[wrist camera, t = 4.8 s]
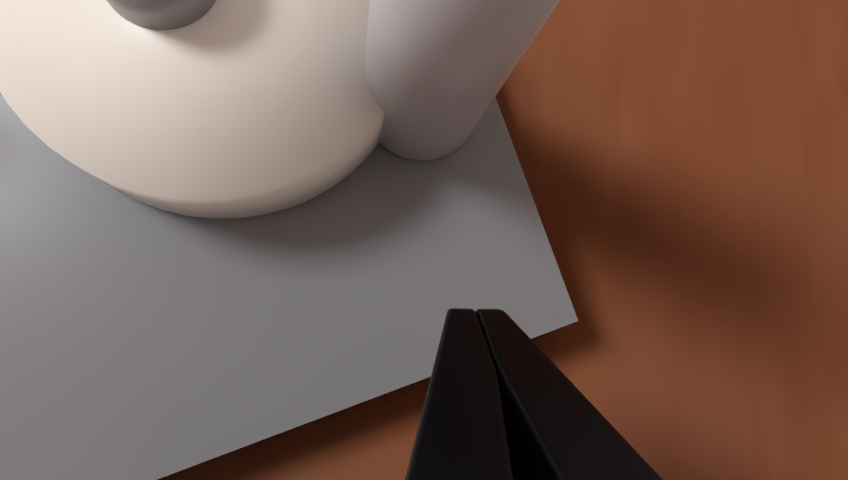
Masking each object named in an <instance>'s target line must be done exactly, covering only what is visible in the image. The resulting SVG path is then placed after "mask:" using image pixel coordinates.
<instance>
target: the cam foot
mask: <svg viewBox="0 0 848 480" xmlns="http://www.w3.org/2000/svg"><path fill="white" fill-rule="evenodd" d="M559 1H560V0H0V92H1V94H2V95H3V97H4V99H5V100H6V102H7V104H8V105H9V106H10V107H11V108H12V110H13V111H14V112H15V113H16V114H17V116H18V117H19V118H20V119H21V121H22V122H23V123H24V124H25V125H26V127H28V128H29V129H30V130H31V131H32V132H33V133H34V134H35V135H36V136H37V137H38V138H39V139H41V140H42V141H43V142H44V143H45V144H46V145H47V146H48V147H49V148H51V149H52V150H54V151H55V152H57V153H58V154H60V155H61V156H62V157H64V158H65V159H67V160H68V161H70V162H71V163H72V164H74V165H76V166H77V167H79V168H81V169H82V170H84V171H85V172H87V173H89V174H90V175H92V176H94V177H95V178H97V179H99V180H100V181H102V182H104V183H105V184H107V185H109V186H110V187H112V188H114V189H115V190H117V191H119V192H121V193H123V194H125V195H127V196H129V197H131V198H133V199H135V200H137V201H139V202H141V203H144V204H147V205H150V206H152V207H155V208H158V209H161V210H164V211H168V212H172V213H177V214H181V215H186V216H192V217H202V218H212V219H228V218H245V217H252V216H259V215H266V214H269V213H273V212H277V211H280V210H284V209H288V208H291V207H293V206H296V205H298V204H300V203H303V202H305V201H308V200H310V199H312V198H314V197H316V196H318V195H319V194H321V193H323V192H325V191H326V190H328V189H330V188H332V187H333V186H335V185H336V184H337V183H339V182H340V181H341V180H343V179H344V178H345V177H346V176H348V175H349V174H350V173H352V172H353V171H354V170H355V169H356V168H357V167H358V166H359V165H360V164H361V163H362V162H363V161H364V160H365V159H366V158H367V157H368V156H369V155H370V153H371V152H372V151H373V149H374V148H375V147H376V145H377V144H378V143H380V144H381V145H382V146H383V147H385V148H386V149H388V150H389V151H391V152H392V153H394V154H396V155H399V156H401V157H404V158H408V159H412V160H432V159H437V158H441V157H443V156H446V155H448V154H450V153H451V152H453V151H455V150H456V149H457V148H458V147H460V146H461V145H462V144H463V143H464V142H465V140H466V139H467V138H468V136H469V135H470V133H471V132H472V130H473V129H474V127H475V126H476V124H477V123H478V121H479V120H480V118H481V117H482V116H483V114H484V113H485V111H486V110H487V108H488V107H489V105H490V104H491V102H492V101H493V99H494V98H495V96H496V95H497V93H498V92H499V90H500V89H501V87H502V86H503V84H504V83H505V81H506V80H507V78H508V77H509V75H510V74H511V73H512V71H513V70H514V68H515V67H516V65H517V64H518V62H519V61H520V59H521V58H522V56H523V55H524V53H525V52H526V50H527V49H528V47H529V46H530V44H531V43H532V41H533V40H534V38H535V37H536V35H537V34H538V32H539V31H540V30H541V28H542V27H543V25H544V24H545V22H546V21H547V19H548V18H549V16H550V15H551V13H552V12H553V10H554V9H555V7H556V6H557V4H558V3H559Z"/></svg>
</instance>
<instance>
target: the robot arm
mask: <svg viewBox="0 0 848 480" xmlns="http://www.w3.org/2000/svg"><path fill="white" fill-rule="evenodd" d="M405 480H663V479H662V478H661V477H660V476H659V475H658V474H657V473H656V472H655V471H654V470H653V469H652V468H651V467H650V466H649V464H648V463H647V462H646V461H645V460H644V459H643V458H642V457H641V456H640V455H639V454H638V453H637V452H636V451H635V450H634V449H633V447H632V446H631V445H630V444H629V443H628V442H627V441H626V440H625V439H624V438H623V437H622V436H621V435H620V434H619V433H618V431H617V430H616V429H615V428H614V427H613V426H612V425H611V424H610V423H609V422H608V421H607V420H606V419H605V418H604V417H603V415H602V414H601V413H600V412H599V411H598V410H597V409H596V408H595V407H594V406H593V405H592V404H591V403H590V402H589V401H588V399H587V398H586V397H585V396H584V395H583V394H582V393H581V392H580V391H579V390H578V389H577V388H576V387H575V386H574V385H573V384H572V382H571V381H570V380H569V379H568V378H567V377H566V376H565V375H564V374H563V373H562V372H561V371H560V370H559V369H558V368H557V366H556V365H555V364H554V363H553V362H552V361H551V360H550V359H549V358H548V357H547V356H546V355H545V354H544V353H543V352H542V350H541V349H540V348H539V347H538V346H537V345H536V344H535V343H534V342H533V341H532V340H531V339H530V338H529V337H528V336H527V334H526V333H525V332H524V331H523V330H522V329H521V328H520V327H519V326H518V325H517V324H516V323H515V322H514V321H513V320H512V319H511V317H510V316H509V315H508V314H507V313H506V312H505V311H503V310H501V309H478V310H476V311H474V310H473V309H471V308H450V309H449V310H448V311H447V314H446V318H445V322H444V326H443V330H442V334H441V338H440V342H439V346H438V350H437V354H436V358H435V362H434V366H433V370H432V374H431V378H430V382H429V386H428V390H427V394H426V398H425V402H424V406H423V410H422V414H421V418H420V422H419V426H418V430H417V434H416V438H415V442H414V446H413V450H412V454H411V458H410V462H409V466H408V470H407V474H406V478H405Z"/></svg>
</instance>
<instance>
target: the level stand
mask: <svg viewBox="0 0 848 480" xmlns="http://www.w3.org/2000/svg"><path fill="white" fill-rule="evenodd" d="M450 308H471V309H473V310H474V311H476V310H478V309H501V310H503V311H505V312H506V313H507V314H508V315H509V316H510V317H511V319H512V320H513V321H514V322H515V323H516V324H517V325H518V326H519V327H520V328H521V329H522V330H523V331H524V332H525V333H526V334H527V336H528V337H529V338H530V339H532V338H534V337H537V336H540V335H542V334H545V333H548V332H550V331H553V330H556V329H558V328H561V327H564V326H566V325H569V324H572V323H574V322H577V321H578V319H577V316H576V313H575V311H574V308H573V305H572V302H571V300H570V297H569V294H568V292H567V289H566V286H565V284H564V281H563V278H562V275H561V273H560V270H559V267H558V265H557V262H556V259H555V256H554V254H553V251H552V248H551V246H550V243H549V240H548V238H547V235H546V232H545V229H544V227H543V224H542V221H541V219H540V216H539V213H538V210H537V208H536V205H535V202H534V200H533V197H532V194H531V192H530V189H529V186H528V183H527V181H526V178H525V175H524V173H523V170H522V167H521V164H520V162H519V159H518V156H517V154H516V151H515V148H514V146H513V143H512V140H511V137H510V135H509V132H508V129H507V127H506V124H505V121H504V119H503V116H502V113H501V110H500V108H499V105H498V102H497V100H496V97H495V98H494V99H493V101H492V102H491V104H490V105H489V107H488V108H487V110H486V111H485V113H484V114H483V116H482V117H481V118H480V120H479V121H478V123H477V124H476V126H475V127H474V129H473V130H472V132H471V133H470V135H469V136H468V138H467V139H466V140H465V142H464V143H463V144H462V145H461V146H460V147H458V148H457V149H456V150H455V151H453V152H451V153H450V154H448V155H446V156H443V157H441V158H437V159H432V160H412V159H408V158H404V157H401V156H399V155H396V154H394V153H392V152H391V151H389V150H388V149H386V148H385V147H383V146H382V145H381V144H380V143H378V144H377V145H376V147H375V148H374V149H373V151H372V152H371V153H370V155H369V156H368V157H367V158H366V159H365V160H364V161H363V162H362V163H361V164H360V165H359V166H358V167H357V168H356V169H355V170H354V171H353V172H352V173H350V174H349V175H348V176H346V177H345V178H344V179H343V180H341V181H340V182H339V183H337V184H336V185H335V186H333V187H332V188H330V189H328V190H326V191H325V192H323V193H321V194H319V195H318V196H316V197H314V198H312V199H310V200H308V201H305V202H303V203H300V204H298V205H296V206H293V207H291V208H288V209H284V210H280V211H277V212H273V213H269V214H266V215H259V216H252V217H245V218H228V219H212V218H202V217H192V216H186V215H181V214H177V213H172V212H168V211H164V210H161V209H158V208H155V207H152V206H150V205H147V204H144V203H141V202H139V201H137V200H135V199H133V198H131V197H129V196H127V195H125V194H123V193H121V192H119V191H117V190H115V189H114V188H112V187H110V186H109V185H107V184H105V183H104V182H102V181H100V180H99V179H97V178H95V177H94V176H92V175H90V174H89V173H87V172H85V171H84V170H82V169H81V168H79V167H77V166H76V165H74V164H72V163H71V162H70V161H68V160H67V159H65V158H64V157H62V156H61V155H60V154H58V153H57V152H55V151H54V150H52V149H51V148H49V147H48V146H47V145H46V144H45V143H44V142H43V141H42V140H41V139H39V138H38V137H37V136H36V135H35V134H34V133H33V132H32V131H31V130H30V129H29V128H28V127H26V125H25V124H24V123H23V122H22V121H21V119H20V118H19V117H18V116H17V114H16V113H15V112H14V111H13V110H12V108H11V107H10V106H9V105H8V104H7V102H6V100H5V99H4V97H3V95H2V94H1V92H0V480H157V479H160V478H163V477H165V476H168V475H171V474H173V473H176V472H179V471H181V470H184V469H187V468H189V467H192V466H194V465H197V464H200V463H202V462H205V461H208V460H210V459H213V458H216V457H218V456H221V455H224V454H226V453H229V452H232V451H234V450H237V449H240V448H242V447H245V446H248V445H250V444H253V443H256V442H258V441H261V440H264V439H266V438H269V437H272V436H274V435H277V434H279V433H282V432H285V431H287V430H290V429H293V428H295V427H298V426H301V425H303V424H306V423H309V422H311V421H314V420H317V419H319V418H322V417H325V416H327V415H330V414H333V413H335V412H338V411H341V410H343V409H346V408H349V407H351V406H354V405H356V404H359V403H362V402H364V401H367V400H370V399H372V398H375V397H378V396H380V395H383V394H386V393H388V392H391V391H394V390H396V389H399V388H402V387H404V386H407V385H410V384H412V383H415V382H418V381H420V380H423V379H426V378H428V377H431V374H432V370H433V366H434V362H435V358H436V354H437V350H438V346H439V342H440V338H441V334H442V330H443V326H444V322H445V318H446V314H447V311H448V310H449V309H450Z"/></svg>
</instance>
